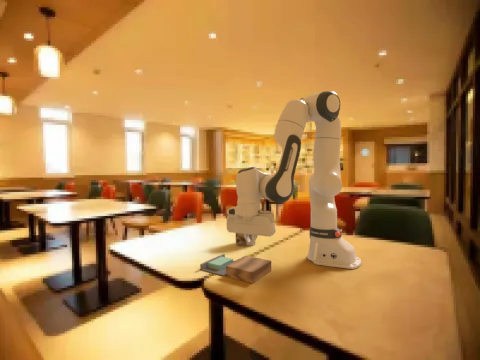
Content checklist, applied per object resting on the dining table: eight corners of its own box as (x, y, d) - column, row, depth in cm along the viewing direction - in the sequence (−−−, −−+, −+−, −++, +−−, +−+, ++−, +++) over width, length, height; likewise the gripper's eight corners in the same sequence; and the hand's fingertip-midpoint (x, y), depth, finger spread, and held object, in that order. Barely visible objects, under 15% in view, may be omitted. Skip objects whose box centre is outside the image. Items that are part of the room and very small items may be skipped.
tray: (245, 264, 117) (245, 258, 116) (224, 276, 104) (224, 270, 104) (223, 259, 123) (222, 253, 123) (200, 269, 111) (200, 264, 111)
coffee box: (235, 246, 143) (234, 215, 143) (236, 242, 150) (236, 213, 149) (252, 246, 142) (252, 215, 142) (253, 242, 149) (253, 213, 148)
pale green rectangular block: (221, 256, 120) (221, 260, 120) (208, 262, 112) (208, 267, 112) (232, 258, 116) (232, 263, 117) (219, 265, 109) (219, 270, 109)
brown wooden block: (271, 270, 109) (271, 260, 109) (253, 283, 98) (252, 272, 97) (245, 264, 116) (245, 255, 116) (225, 276, 104) (225, 265, 104)
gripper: (277, 209, 103) (279, 246, 103) (232, 207, 114) (234, 240, 115) (269, 212, 97) (271, 251, 98) (223, 210, 109) (225, 244, 109)
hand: (251, 245), depth 106 cm, fingers closed
